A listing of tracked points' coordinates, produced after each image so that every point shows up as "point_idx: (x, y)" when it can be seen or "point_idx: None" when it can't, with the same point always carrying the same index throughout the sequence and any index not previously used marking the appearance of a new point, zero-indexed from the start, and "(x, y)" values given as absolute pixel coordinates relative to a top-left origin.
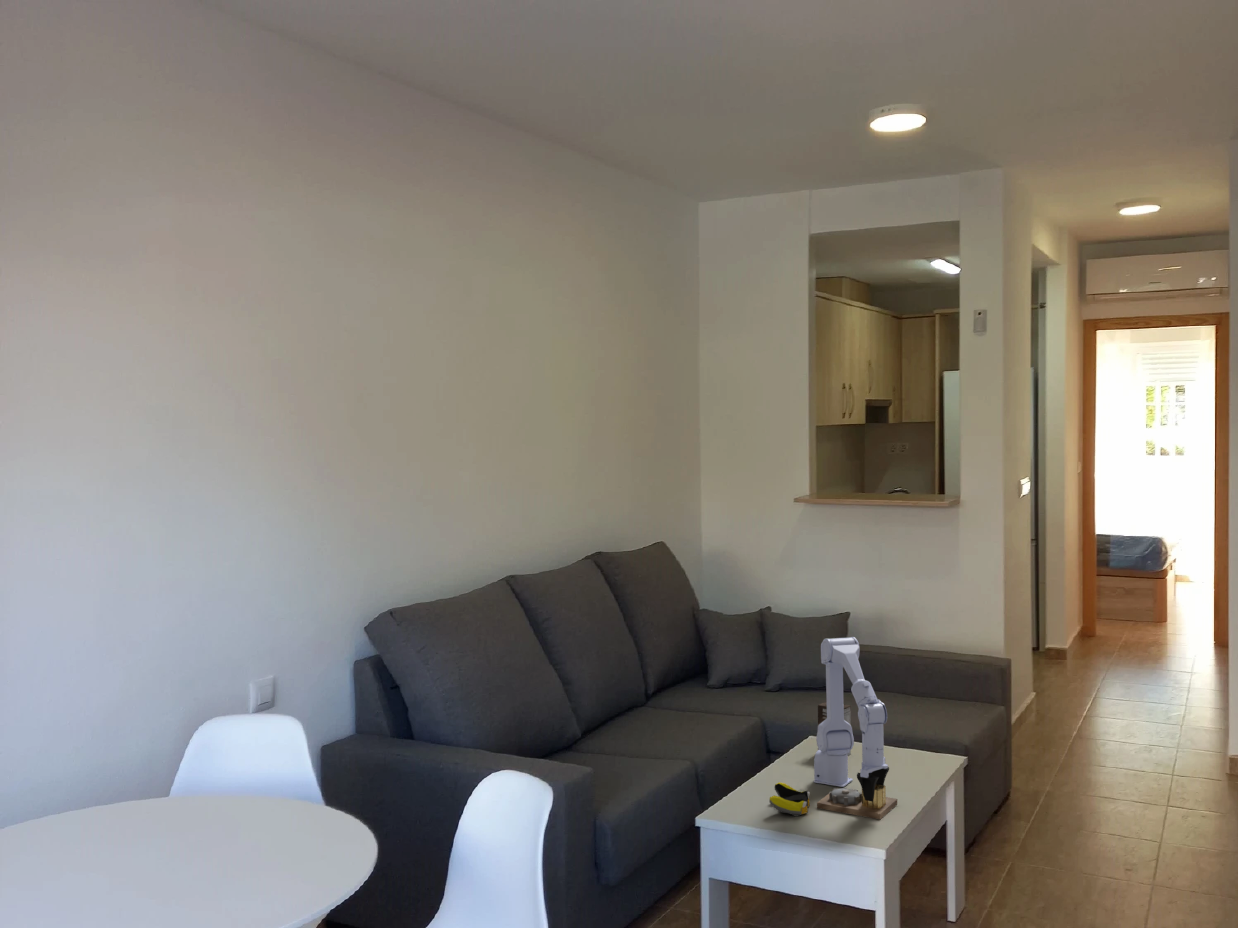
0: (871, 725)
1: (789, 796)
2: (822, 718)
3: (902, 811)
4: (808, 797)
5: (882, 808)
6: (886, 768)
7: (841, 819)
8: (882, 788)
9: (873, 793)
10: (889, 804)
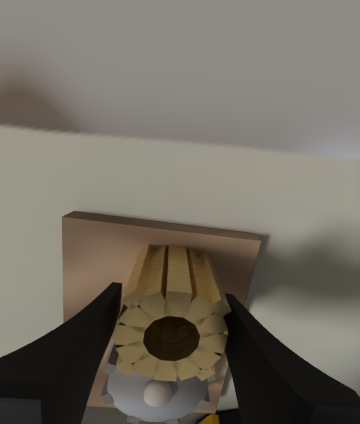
0: None
1: None
2: None
3: (144, 179)
4: None
5: (200, 245)
6: (20, 410)
7: (284, 328)
8: (184, 295)
9: (251, 315)
10: (145, 231)
